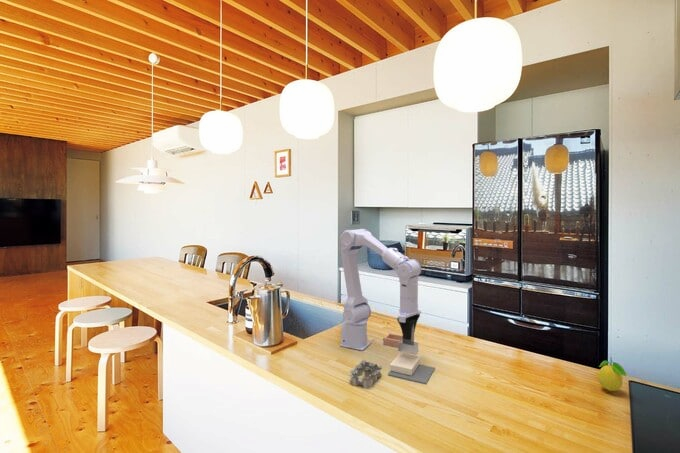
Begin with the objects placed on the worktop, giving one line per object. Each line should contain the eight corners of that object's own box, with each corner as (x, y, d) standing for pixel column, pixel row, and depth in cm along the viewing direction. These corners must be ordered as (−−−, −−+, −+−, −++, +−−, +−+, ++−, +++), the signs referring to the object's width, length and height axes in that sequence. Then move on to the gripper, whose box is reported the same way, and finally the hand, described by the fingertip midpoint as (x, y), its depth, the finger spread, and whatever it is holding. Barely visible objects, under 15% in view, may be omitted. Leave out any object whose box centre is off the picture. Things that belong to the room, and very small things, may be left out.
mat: (387, 375, 111) (387, 374, 111) (399, 361, 120) (399, 360, 120) (426, 384, 105) (426, 383, 105) (434, 368, 115) (434, 367, 115)
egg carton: (369, 390, 102) (369, 377, 102) (346, 384, 106) (346, 371, 106) (384, 374, 112) (384, 362, 111) (362, 369, 115) (362, 357, 115)
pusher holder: (406, 349, 130) (406, 342, 130) (383, 344, 134) (383, 338, 134) (411, 343, 135) (411, 336, 135) (388, 339, 140) (388, 332, 139)
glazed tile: (400, 358, 121) (390, 371, 112) (400, 352, 121) (390, 364, 112) (420, 363, 118) (411, 376, 109) (420, 356, 118) (411, 369, 109)
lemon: (625, 400, 96) (627, 364, 95) (598, 394, 99) (600, 359, 98) (621, 389, 101) (623, 355, 101) (596, 383, 104) (598, 350, 104)
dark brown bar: (415, 355, 115) (416, 325, 114) (397, 351, 118) (398, 321, 117) (418, 351, 117) (418, 322, 117) (400, 347, 120) (401, 319, 119)
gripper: (414, 304, 108) (414, 347, 109) (426, 293, 121) (426, 331, 122) (392, 301, 111) (392, 343, 112) (406, 290, 124) (406, 328, 125)
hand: (408, 337), depth 117 cm, fingers closed on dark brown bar, 3 cm apart
